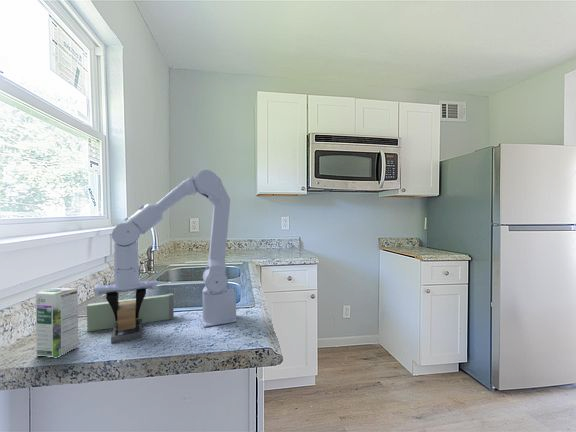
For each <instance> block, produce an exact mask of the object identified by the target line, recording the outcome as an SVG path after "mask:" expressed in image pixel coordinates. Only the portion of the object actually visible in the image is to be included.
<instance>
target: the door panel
mask: <svg viewBox="0 0 576 432" xmlns="http://www.w3.org/2000/svg"><path fill="white" fill-rule="evenodd" d="M129 301H136V297H134V298H127V299H118V307H119V304H120V303H121V302H129ZM174 312H175V310H174V293H172V292H171V293H168V294H161V295H160V294H159V295H152V296H145V297H144V299H143V301H142V304H141V307H140V310H139V318H136V320H137V319H142V324H145V323H152V322H158V321H164V320H172V319H175V318H174V317H175V316H174V314H175V313H174ZM117 322H118V321H116V320H115V315H114V312H113V310H112V308H111V306H110V304H109V302H108V301H103V302H95V303H88V304H87V305H86V328H87V329H86V331H87V332H94V331H95V332H96V331H102V330H107V329H114V325H115V323H117Z"/></svg>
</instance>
